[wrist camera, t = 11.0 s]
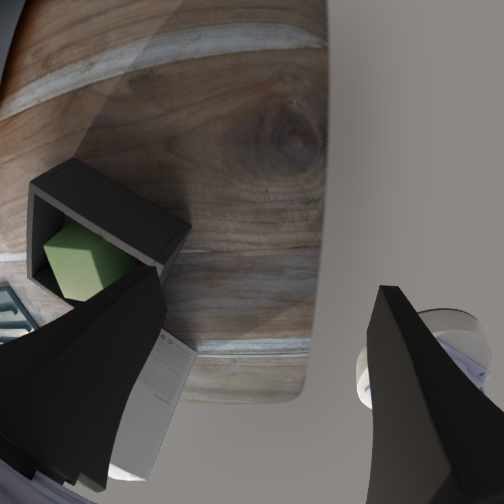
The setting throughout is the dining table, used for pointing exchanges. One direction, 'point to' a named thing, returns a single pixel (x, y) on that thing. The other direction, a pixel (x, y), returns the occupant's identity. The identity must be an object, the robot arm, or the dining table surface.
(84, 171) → the dark grey open tray
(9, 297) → the drainboard
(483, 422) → the robot arm
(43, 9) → the dining table surface
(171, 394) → the small box
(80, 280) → the block
